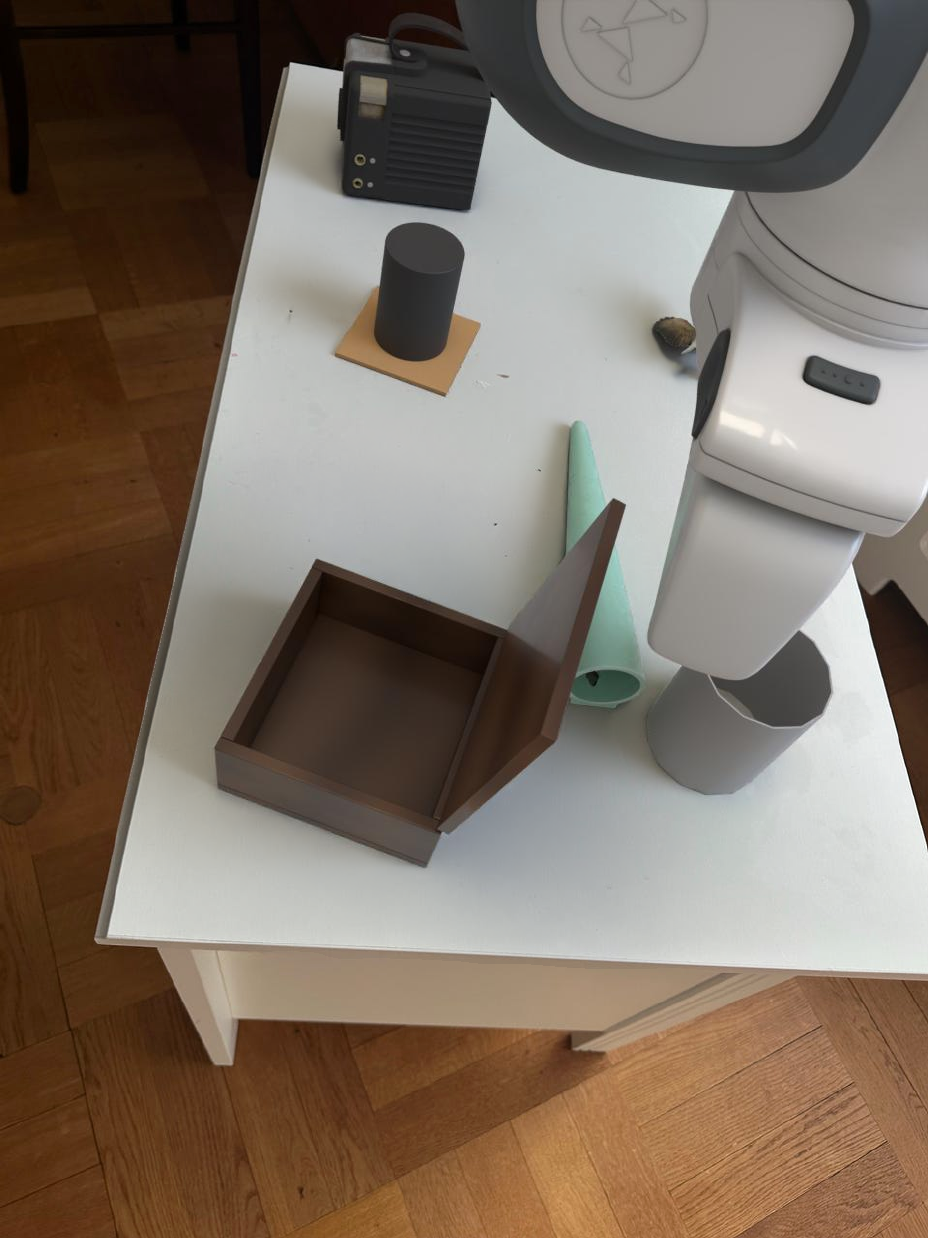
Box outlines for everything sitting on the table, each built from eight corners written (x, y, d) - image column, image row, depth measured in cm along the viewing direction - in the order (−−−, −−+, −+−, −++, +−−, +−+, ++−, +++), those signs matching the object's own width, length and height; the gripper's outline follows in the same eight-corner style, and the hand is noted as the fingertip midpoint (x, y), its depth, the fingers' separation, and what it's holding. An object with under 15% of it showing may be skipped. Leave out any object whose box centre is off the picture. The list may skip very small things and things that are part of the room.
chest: (217, 788, 57) (213, 748, 52) (312, 606, 65) (316, 557, 61) (426, 868, 57) (441, 835, 52) (494, 675, 65) (513, 631, 60)
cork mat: (334, 355, 79) (335, 352, 79) (376, 288, 85) (377, 285, 85) (445, 396, 79) (446, 393, 79) (480, 326, 85) (481, 323, 84)
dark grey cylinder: (391, 367, 79) (404, 278, 72) (362, 317, 82) (372, 226, 75) (458, 354, 82) (478, 266, 74) (428, 306, 84) (444, 217, 77)
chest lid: (540, 734, 40) (556, 741, 40) (613, 496, 48) (626, 504, 48) (436, 829, 52) (448, 835, 52) (509, 625, 60) (520, 630, 60)
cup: (734, 818, 62) (806, 755, 54) (627, 750, 64) (681, 679, 56) (777, 726, 67) (849, 656, 59) (676, 665, 68) (733, 587, 60)
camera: (335, 135, 97) (345, -26, 85) (467, 153, 100) (496, 0, 87) (333, 198, 91) (345, 35, 79) (474, 215, 94) (506, 61, 81)
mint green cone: (627, 385, 76) (657, 672, 61) (606, 433, 80) (629, 711, 65) (562, 375, 75) (576, 663, 60) (545, 423, 80) (554, 703, 65)
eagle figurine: (761, 368, 87) (725, 290, 90) (760, 329, 80) (721, 247, 83) (683, 402, 89) (649, 325, 91) (675, 367, 82) (639, 285, 85)
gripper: (778, 115, 37) (659, 381, 48) (696, 473, 25) (566, 712, 36) (933, 166, 36) (777, 422, 48) (923, 551, 25) (721, 768, 36)
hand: (685, 550), depth 42 cm, fingers open, 8 cm apart
